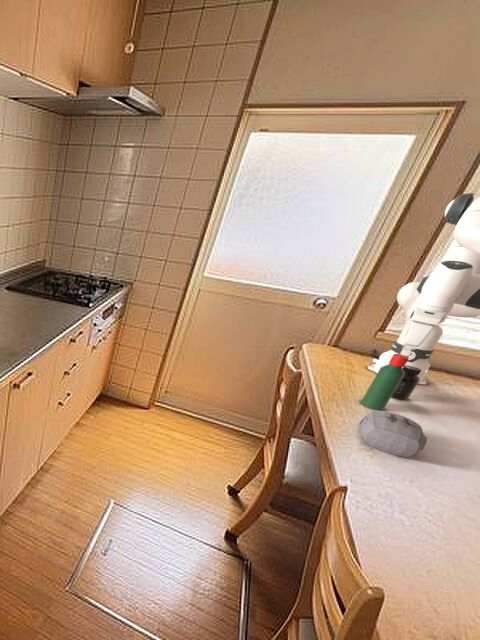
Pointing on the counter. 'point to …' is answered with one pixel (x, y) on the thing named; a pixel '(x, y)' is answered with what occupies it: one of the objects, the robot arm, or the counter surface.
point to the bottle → (383, 387)
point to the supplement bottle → (407, 383)
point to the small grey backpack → (392, 433)
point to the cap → (398, 360)
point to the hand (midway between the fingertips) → (404, 352)
